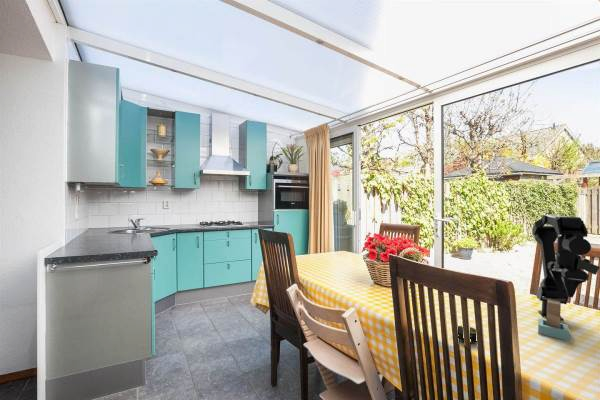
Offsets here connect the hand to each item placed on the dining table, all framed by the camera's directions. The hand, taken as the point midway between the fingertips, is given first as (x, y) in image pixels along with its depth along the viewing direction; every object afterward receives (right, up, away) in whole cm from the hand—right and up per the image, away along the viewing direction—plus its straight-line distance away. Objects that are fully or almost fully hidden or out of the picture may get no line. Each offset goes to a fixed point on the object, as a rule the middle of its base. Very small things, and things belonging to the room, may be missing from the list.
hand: (565, 293), depth 108 cm
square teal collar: (-8, -13, -3) cm, 15 cm away
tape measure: (-43, -12, -11) cm, 46 cm away
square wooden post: (-8, -13, -3) cm, 15 cm away
